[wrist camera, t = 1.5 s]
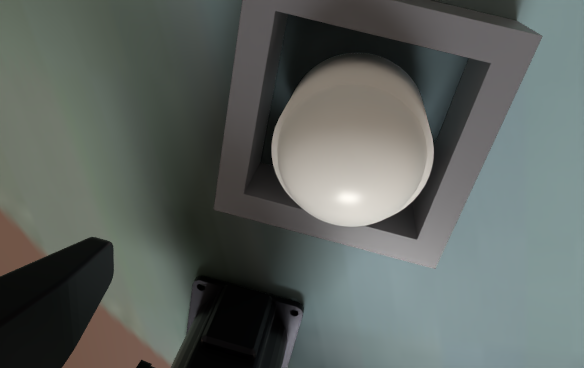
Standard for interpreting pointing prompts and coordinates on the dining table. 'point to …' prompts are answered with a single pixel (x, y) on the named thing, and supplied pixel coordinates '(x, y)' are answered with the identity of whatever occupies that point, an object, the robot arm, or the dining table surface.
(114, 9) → the dining table surface
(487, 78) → the box
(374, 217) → the dome
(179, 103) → the dining table surface
